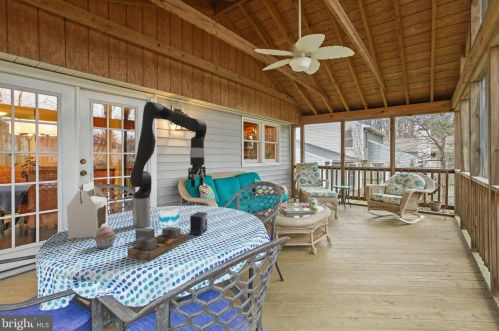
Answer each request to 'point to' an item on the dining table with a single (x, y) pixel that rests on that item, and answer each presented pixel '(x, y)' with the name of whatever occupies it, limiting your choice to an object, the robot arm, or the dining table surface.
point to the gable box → (87, 212)
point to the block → (145, 233)
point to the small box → (198, 223)
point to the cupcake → (105, 237)
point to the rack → (157, 244)
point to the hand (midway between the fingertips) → (197, 186)
